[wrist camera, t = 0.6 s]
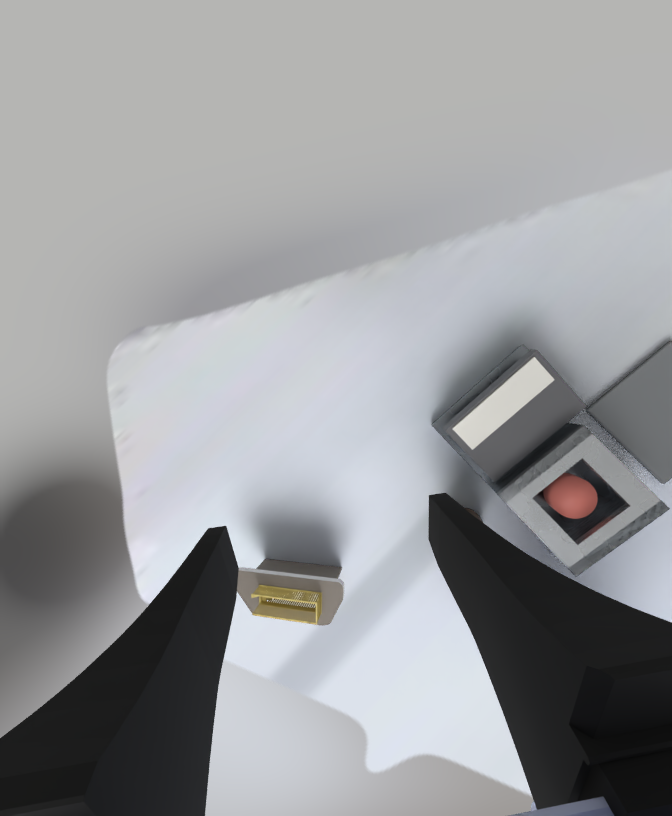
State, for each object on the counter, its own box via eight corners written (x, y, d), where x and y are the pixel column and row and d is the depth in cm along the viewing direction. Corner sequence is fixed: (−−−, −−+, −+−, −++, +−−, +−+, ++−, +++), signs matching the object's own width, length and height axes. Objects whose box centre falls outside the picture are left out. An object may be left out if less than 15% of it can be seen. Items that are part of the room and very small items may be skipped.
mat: (751, 415, 27) (756, 415, 27) (660, 482, 28) (664, 483, 28) (669, 341, 28) (672, 340, 28) (585, 410, 29) (587, 410, 29)
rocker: (578, 403, 28) (588, 406, 27) (489, 477, 30) (495, 482, 29) (530, 349, 27) (538, 350, 26) (442, 427, 29) (445, 431, 28)
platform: (393, 642, 34) (389, 699, 27) (222, 616, 38) (183, 661, 31) (395, 518, 33) (391, 547, 27) (222, 504, 37) (182, 527, 31)
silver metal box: (655, 478, 29) (694, 490, 25) (554, 553, 30) (576, 576, 26) (519, 346, 30) (535, 338, 26) (431, 424, 32) (434, 428, 28)
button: (596, 494, 28) (607, 500, 27) (563, 520, 29) (572, 527, 27) (566, 464, 29) (575, 468, 27) (534, 490, 29) (541, 495, 28)
